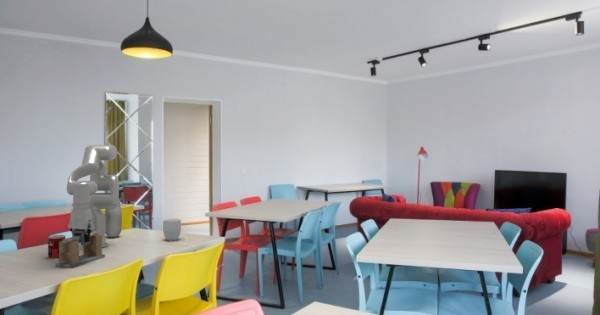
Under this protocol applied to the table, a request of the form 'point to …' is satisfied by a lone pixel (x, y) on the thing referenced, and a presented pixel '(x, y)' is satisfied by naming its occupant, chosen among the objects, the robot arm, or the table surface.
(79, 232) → the dark grey block
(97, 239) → the rod stand
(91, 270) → the table surface
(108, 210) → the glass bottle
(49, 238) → the canned food
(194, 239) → the table surface
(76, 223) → the robot arm
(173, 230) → the mug
